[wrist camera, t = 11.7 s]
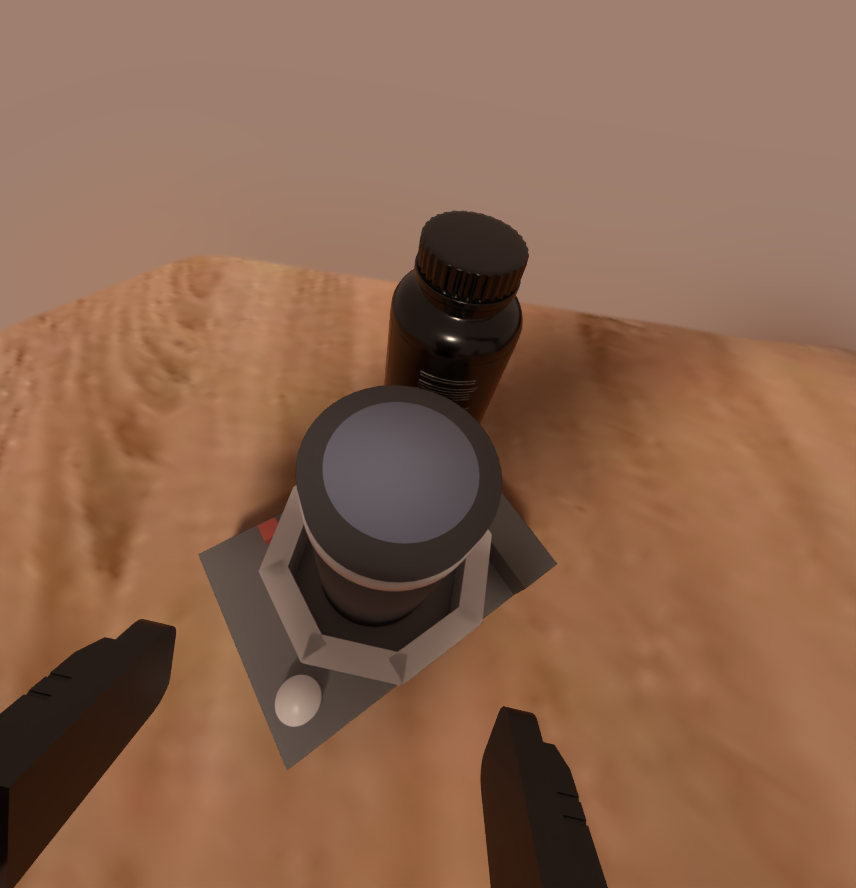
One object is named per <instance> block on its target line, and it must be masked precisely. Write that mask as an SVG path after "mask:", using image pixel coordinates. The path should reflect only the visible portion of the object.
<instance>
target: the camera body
mask: <svg viewBox="0 0 856 888" xmlns="http://www.w3.org/2000/svg"><path fill="white" fill-rule="evenodd" d="M198 555H199V557H200V560H201V562H202V565H203V567H204V569H205V572H206V574H207V577H208V579H209V582H210V584H211V587H212V589H213V591H214V594H215V596H216V599H217V601H218V604H219V606H220V608H221V611H222V613H223V616H224V618H225V621H226V623H227V626H228V628H229V630H230V633H231V635H232V638H233V640H234V643H235V645H236V647H237V650H238V652H239V655H240V657H241V660H242V662H243V665H244V667H245V669H246V672H247V674H248V677H249V679H250V682H251V684H252V686H253V689H254V691H255V694H256V696H257V699H258V701H259V703H260V706H261V708H262V711H263V713H264V716H265V718H266V721H267V723H268V725H269V728H270V730H271V733H272V735H273V738H274V740H275V742H276V745H277V747H278V750H279V752H280V755H281V757H282V760H283V762H284V764H285V767H286V769H287V770H288V769H290V768H291V767H292V766H293V765H295V764H296V763H297V762H299V761H300V760H301V759H303V758H304V757H305V756H306V755H308V754H309V753H310V752H312V751H313V750H314V749H315V748H317V747H318V746H319V745H321V744H322V743H323V742H324V741H326V740H327V739H328V738H330V737H331V736H332V735H334V734H335V733H336V732H337V731H339V730H340V729H341V728H343V727H344V726H345V725H346V724H348V723H349V722H350V721H352V720H353V719H354V718H355V717H357V716H358V715H359V714H361V713H362V712H363V711H365V710H366V709H367V708H368V707H370V706H371V705H372V704H374V703H375V702H376V701H377V700H379V699H380V698H381V697H383V696H384V695H385V694H386V693H388V692H389V691H390V690H392V689H393V688H394V687H396V686H397V685H404V684H405V683H406V682H408V681H409V680H410V679H411V678H413V677H414V676H415V675H417V674H418V673H419V672H420V671H422V670H423V669H424V668H426V667H427V666H428V665H429V664H431V663H432V662H433V661H435V660H436V659H437V658H438V657H440V656H441V655H442V654H444V653H445V652H446V651H447V650H449V649H450V648H451V647H453V646H454V645H455V644H456V643H458V642H459V641H460V640H462V639H463V638H464V637H465V636H467V635H468V634H469V633H471V632H472V631H473V630H474V629H476V628H477V627H478V626H480V625H481V624H482V620H483V618H485V617H486V616H487V615H489V614H490V613H491V612H492V611H494V610H495V609H496V608H498V607H499V606H500V605H501V604H503V603H504V602H505V601H507V600H508V599H509V598H511V597H512V596H513V595H515V594H517V593H518V592H520V591H522V590H524V589H526V588H527V587H528V586H530V585H531V584H532V583H533V582H535V581H536V580H537V579H539V578H540V577H541V576H542V575H544V574H545V573H546V572H548V571H549V570H550V569H551V568H553V567H554V566H555V565H557V563H556V562H555V560H554V559H553V558H552V557H551V555H550V554H549V553H548V551H547V550H546V549H545V547H544V546H543V545H542V544H541V542H540V541H539V540H538V538H537V537H536V536H535V535H534V533H533V532H532V531H531V529H530V528H529V527H528V526H527V524H526V523H525V522H524V520H523V519H522V518H521V517H520V515H519V514H518V513H517V511H516V510H515V509H514V507H513V506H512V505H511V504H510V502H509V501H508V500H507V498H506V497H505V496H504V495H503V493H501V499H500V504H499V507H498V510H497V513H496V516H495V518H494V520H493V522H492V524H491V525H490V527H489V529H488V530H487V531H486V533H485V534H484V536H483V537H482V538H481V539H480V540H479V542H478V543H477V545H476V546H475V548H474V549H473V550H472V552H471V553H470V554H469V555H468V556H467V557H466V558H465V559H464V560H463V561H462V562H461V563H460V564H459V565H458V566H457V567H456V568H455V569H454V570H453V571H452V572H450V573H449V574H448V575H447V576H446V577H445V578H444V579H443V580H442V581H441V582H440V583H439V584H438V585H437V586H436V587H435V588H434V589H433V591H432V592H431V593H430V594H429V595H428V596H427V597H426V598H425V599H424V600H423V601H422V602H421V603H420V604H419V606H418V607H417V608H416V609H415V610H414V611H413V612H412V613H410V614H409V615H408V616H407V617H405V618H404V619H402V620H400V621H398V622H396V623H393V624H390V625H386V626H380V627H368V626H362V625H359V624H356V623H353V622H351V621H349V620H347V619H345V618H344V617H343V616H341V615H340V614H339V613H338V612H337V611H336V610H335V609H334V608H333V607H332V606H331V604H330V603H329V601H328V599H327V598H326V595H325V593H324V591H323V587H322V583H321V579H320V575H319V572H318V568H317V564H316V560H315V556H314V553H313V549H312V545H311V542H310V540H309V537H308V535H307V532H306V530H305V526H304V523H303V519H302V515H301V511H300V507H299V498H298V491H297V485H296V486H294V487H293V489H292V492H291V494H290V496H289V499H288V501H287V504H286V506H285V509H284V511H283V512H282V513H280V514H278V515H276V516H274V517H272V518H270V519H268V520H266V521H264V522H262V523H260V524H258V525H256V526H254V527H252V528H250V529H248V530H246V531H244V532H242V533H240V534H238V535H236V536H234V537H232V538H230V539H228V540H226V541H224V542H222V543H220V544H218V545H216V546H214V547H212V548H210V549H208V550H206V551H204V552H202V553H200V554H198Z"/></svg>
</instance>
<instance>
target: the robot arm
mask: <svg viewBox="0 0 856 888" xmlns="http://www.w3.org/2000/svg"><path fill="white" fill-rule="evenodd" d="M175 637H176V629H175V627H174V626H170V625H166V624H162V623H158V622H153V621H149V620H145V619H140V620H138V621H136V622H135V623H134V624H132V625H131V626H130V627H129V628H128V629H127V630H126V631H125V632H123V633H122V634H121V635H120V636H119V637H118V638H117V639H116V640H114V639H110V638H106V637H104V638H102V639H100V640H98V641H96V642H94V643H92V644H90V645H88V646H86V647H84V648H82V649H80V650H78V651H76V652H75V653H73V654H72V655H71V656H70V657H69V658H67V659H66V660H65V661H64V662H63V663H61V664H60V665H59V666H58V667H56V668H55V669H54V670H53V671H52V672H50V675H49V676H48V677H44V678H43V679H42V680H41V681H39V682H38V683H37V684H36V685H35V686H33V687H32V688H31V689H30V690H29V692H28V693H27V694H26V695H22V696H21V697H20V698H19V699H18V700H16V701H15V702H14V703H13V704H12V705H10V706H9V707H8V708H7V709H5V710H4V711H3V712H2V713H1V714H0V888H14V887H15V885H16V884H17V883H18V881H19V880H20V879H21V878H22V876H23V875H24V874H25V873H26V871H27V870H28V869H29V868H30V866H31V865H32V864H33V863H34V861H35V860H36V859H37V858H38V856H39V855H40V854H41V853H42V851H43V850H44V849H45V847H46V846H47V845H48V844H49V842H50V841H51V840H52V839H53V837H54V836H55V835H56V834H57V832H58V831H59V830H60V829H61V827H62V826H63V825H64V824H65V822H66V821H67V820H68V819H69V817H70V816H71V815H72V813H73V812H74V811H75V810H76V808H77V807H78V806H79V805H80V803H81V802H82V801H83V800H84V798H85V797H86V796H87V795H88V793H89V792H90V791H91V790H92V788H93V787H94V786H95V785H96V783H97V782H98V781H99V779H100V778H101V777H102V776H103V774H104V773H105V772H106V771H107V769H108V768H109V767H110V766H111V764H112V763H113V762H114V761H115V759H116V758H117V757H118V756H119V754H120V753H121V752H122V751H123V749H124V748H125V747H126V745H127V744H128V743H129V742H130V740H131V739H132V738H133V737H134V735H135V734H136V733H137V732H138V730H139V729H140V728H141V727H142V725H143V724H144V723H145V722H146V720H147V719H148V718H149V716H150V715H151V714H152V713H153V711H154V710H155V709H156V707H157V706H158V704H159V703H160V701H161V699H162V698H163V696H164V694H165V691H166V689H167V687H168V684H169V680H170V675H171V667H172V660H173V652H174V645H175ZM481 794H482V804H483V814H484V824H485V834H486V844H487V854H488V864H489V874H490V884H491V888H608V887H607V884H606V881H605V878H604V874H603V871H602V868H601V865H600V862H599V859H598V856H597V852H596V849H595V846H594V843H593V840H592V837H591V834H590V830H589V827H588V826H586V818H585V815H584V812H583V808H582V805H581V802H579V800H578V798H579V796H578V793H577V790H576V786H575V783H574V780H573V777H572V774H571V771H570V769H569V767H568V765H567V764H566V762H565V761H564V759H563V758H562V756H561V754H560V753H559V751H558V750H557V748H556V746H555V745H553V744H549V743H545V742H543V740H542V736H541V732H540V729H539V725H538V721H537V718H536V716H535V715H534V714H533V713H530V712H526V711H521V710H517V709H513V708H509V707H505V706H503V707H502V708H501V709H500V711H499V713H498V716H497V719H496V722H495V724H494V727H493V730H492V732H491V735H490V738H489V741H488V743H487V746H486V749H485V751H484V755H483V759H482V765H481Z"/></svg>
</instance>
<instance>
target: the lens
mask: <svg viewBox="0 0 856 888" xmlns="http://www.w3.org/2000/svg"><path fill="white" fill-rule="evenodd" d="M296 485H297V491H298V498H299V507H300V511H301V515H302V519H303V523H304V526H305V530H306V532H307V535H308V537H309V540H310V542H311V545H312V549H313V553H314V556H315V560H316V564H317V568H318V572H319V575H320V579H321V583H322V587H323V591H324V593H325V595H326V598H327V599H328V601H329V603H330V604H331V606H332V607H333V608H334V609H335V610H336V611H337V612H338V613H339V614H340V615H341V616H343V617H344V618H345V619H347V620H349V621H351V622H353V623H356V624H359V625H362V626H368V627H380V626H386V625H390V624H393V623H396V622H398V621H400V620H402V619H404V618H405V617H407V616H408V615H409V614H410V613H412V612H413V611H414V610H415V609H416V608H417V607H418V606H419V604H420V603H421V602H422V601H423V600H424V599H425V598H426V597H427V596H428V595H429V594H430V593H431V592H432V591H433V589H434V588H435V587H436V586H437V585H438V584H439V583H440V582H441V581H442V580H443V579H444V578H445V577H446V576H447V575H448V574H449V573H450V572H452V571H453V570H454V569H455V568H456V567H457V566H458V565H459V564H460V563H461V562H462V561H463V560H464V559H465V558H466V557H467V556H468V555H469V554H470V553H471V552H472V550H473V549H474V548H475V546H476V545H477V543H478V542H479V540H480V539H481V538H482V537H483V536H484V534H485V533H486V531H487V530H488V529H489V527H490V525H491V524H492V522H493V520H494V518H495V516H496V513H497V510H498V507H499V504H500V499H501V493H502V474H501V467H500V463H499V459H498V456H497V453H496V451H495V448H494V446H493V444H492V442H491V440H490V438H489V436H488V435H487V434H486V432H485V431H484V429H483V428H482V427H481V425H480V424H479V423H478V422H477V421H476V420H475V419H474V418H473V417H472V416H471V415H470V414H469V413H468V412H467V411H465V410H464V409H463V408H461V407H460V406H459V405H457V404H456V403H454V402H452V401H451V400H449V399H447V398H445V397H443V396H441V395H438V394H436V393H433V392H430V391H427V390H424V389H420V388H415V387H409V386H398V385H388V386H377V387H372V388H367V389H363V390H360V391H357V392H354V393H352V394H350V395H347V396H345V397H343V398H342V399H340V400H338V401H337V402H335V403H333V404H332V405H331V406H329V407H328V408H327V409H326V410H324V411H323V412H322V413H321V414H320V415H319V416H318V417H317V418H316V420H315V421H314V422H313V424H312V425H311V426H310V428H309V429H308V431H307V433H306V435H305V436H304V438H303V440H302V443H301V446H300V449H299V452H298V457H297V461H296Z"/></svg>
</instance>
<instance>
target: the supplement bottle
mask: <svg viewBox="0 0 856 888" xmlns="http://www.w3.org/2000/svg"><path fill="white" fill-rule="evenodd" d="M528 258H529V254H528V248H527V246H526V242H525V241H524V240H523V238H522V236H521V235H519V234H518V232H517V231H516V230H514V229H513V228H511V226H510V225H507V224H505V223H504V222H502V221H501V220H498V219H495V218H493V217H491V216H487V215H484V214H481V213H476V212H467V211H452V212H444V213H443V214H437V216H435V217H432V218H431V219H430V220H429V221H427V222H426V224H425V226H424V227H423V229H422V232H421V237H420V244H419V251H418V254H417V256H416V259H415V268H414V269H413V270H411V271H410V272H409V273H408V274H407V275H405V276H404V278H403V279H402V280H401V281H400V282H399V284H398V285H397V287H396V289H395V291H394V294H393V297H392V303H391V310H390V321H389V333H388V345H387V357H386V369H385V381H384V386H388V385H398V386H409V387H415V388H420V389H424V390H427V391H430V392H433V393H436V394H438V395H441V396H443V397H445V398H447V399H449V400H451V401H452V402H454V403H456V404H457V405H459V406H460V407H461V408H463V409H464V410H465V411H467V412H468V413H469V414H470V415H471V416H472V417H473V418H474V419H475V420H476V421H477V422H478V423H479V424H480V422H481V420H482V418H483V416H484V414H485V412H486V410H487V407H488V405H489V403H490V401H491V399H492V396H493V394H494V392H495V390H496V388H497V386H498V383H499V381H500V379H501V377H502V375H503V372H504V370H505V368H506V366H507V364H508V361H509V359H510V357H511V355H512V353H513V350H514V348H515V346H516V344H517V342H518V339H519V336H520V333H521V330H522V324H523V317H522V310H521V306H520V303H519V301H518V298H517V296H516V294H517V291H518V289H519V286H520V281H521V278H522V275H523V273H524V270H525V268H526V265H527V261H528Z"/></svg>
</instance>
